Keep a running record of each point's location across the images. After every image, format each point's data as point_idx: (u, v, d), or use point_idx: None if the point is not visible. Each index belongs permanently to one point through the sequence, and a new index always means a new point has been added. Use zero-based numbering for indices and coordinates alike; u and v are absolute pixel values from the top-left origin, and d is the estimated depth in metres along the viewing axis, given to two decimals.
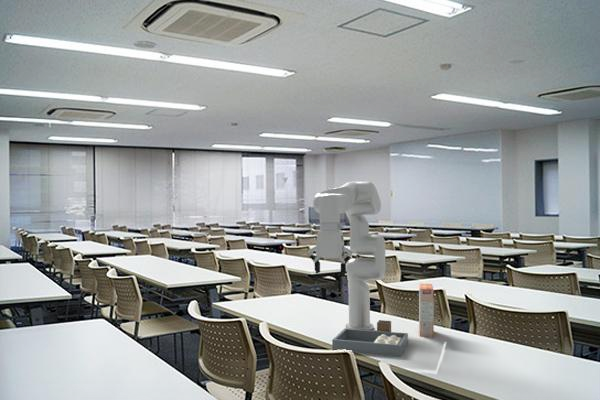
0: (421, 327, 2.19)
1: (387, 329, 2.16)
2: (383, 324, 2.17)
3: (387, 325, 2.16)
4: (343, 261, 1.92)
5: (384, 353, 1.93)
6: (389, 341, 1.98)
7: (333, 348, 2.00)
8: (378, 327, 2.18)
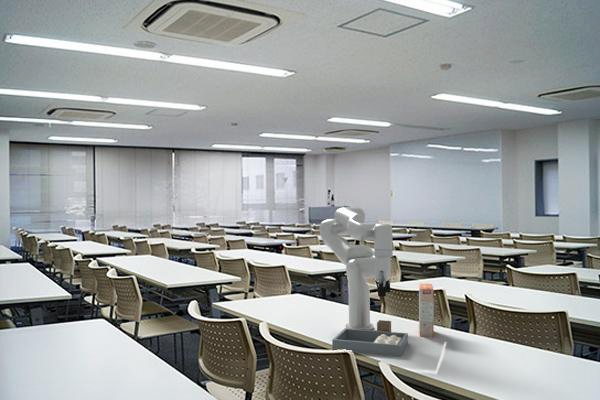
0: (421, 327, 2.19)
1: (387, 329, 2.16)
2: (383, 324, 2.17)
3: (387, 325, 2.16)
4: (389, 281, 2.24)
5: (384, 353, 1.93)
6: (389, 341, 1.98)
7: (333, 348, 2.00)
8: (378, 327, 2.18)
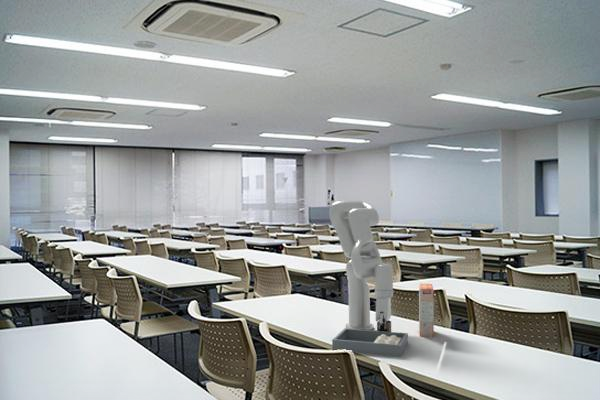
0: (421, 327, 2.19)
1: (387, 329, 2.16)
2: None
3: (387, 325, 2.16)
4: None
5: (384, 353, 1.93)
6: (389, 341, 1.98)
7: (333, 348, 2.00)
8: (378, 327, 2.18)
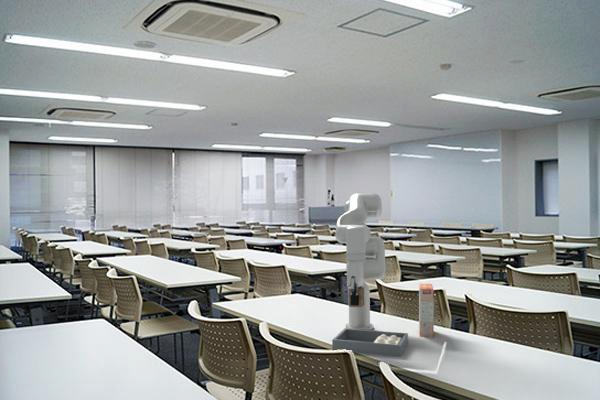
0: (421, 327, 2.19)
1: (359, 295, 2.03)
2: None
3: (359, 291, 2.03)
4: None
5: (384, 353, 1.93)
6: (389, 341, 1.98)
7: (333, 348, 2.00)
8: (350, 293, 2.05)
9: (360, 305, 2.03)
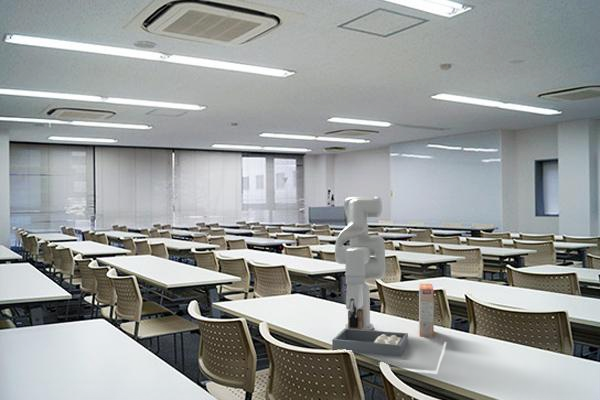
0: (421, 327, 2.19)
1: (358, 317, 2.03)
2: None
3: (358, 313, 2.03)
4: None
5: (384, 353, 1.93)
6: (389, 341, 1.98)
7: (333, 348, 2.00)
8: (349, 315, 2.04)
9: (359, 327, 2.03)
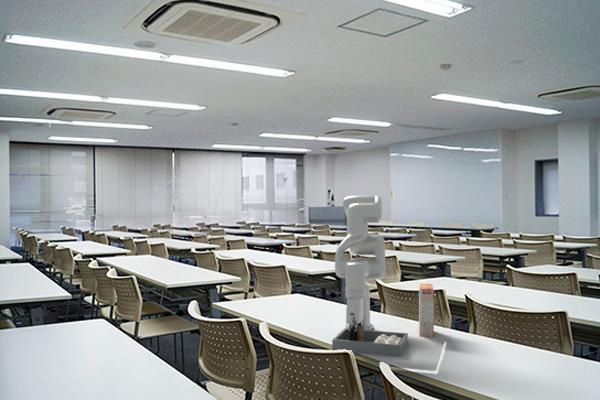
0: (421, 327, 2.19)
1: (359, 335, 2.03)
2: None
3: (359, 331, 2.03)
4: (361, 324, 2.10)
5: (384, 353, 1.93)
6: (389, 341, 1.98)
7: (333, 348, 2.00)
8: None
9: None
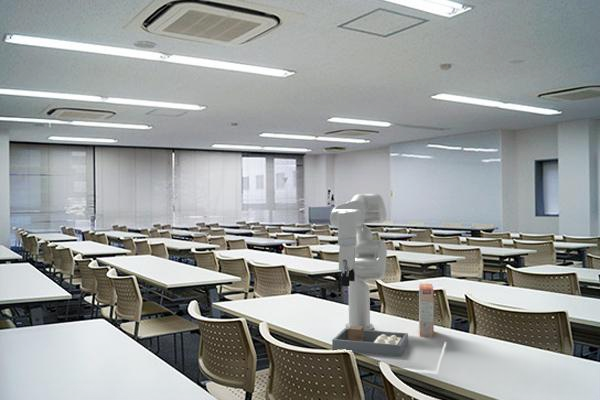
0: (421, 327, 2.19)
1: (359, 335, 2.03)
2: (354, 330, 2.04)
3: (359, 331, 2.03)
4: (353, 269, 2.17)
5: (384, 353, 1.93)
6: (389, 341, 1.98)
7: (333, 348, 2.00)
8: (349, 333, 2.05)
9: None
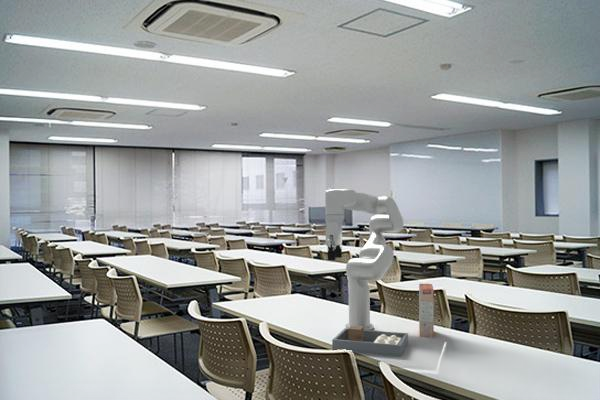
0: (421, 327, 2.19)
1: (359, 335, 2.03)
2: (354, 330, 2.04)
3: (359, 331, 2.03)
4: (341, 246, 2.27)
5: (384, 353, 1.93)
6: (389, 341, 1.98)
7: (333, 348, 2.00)
8: (349, 333, 2.05)
9: None
